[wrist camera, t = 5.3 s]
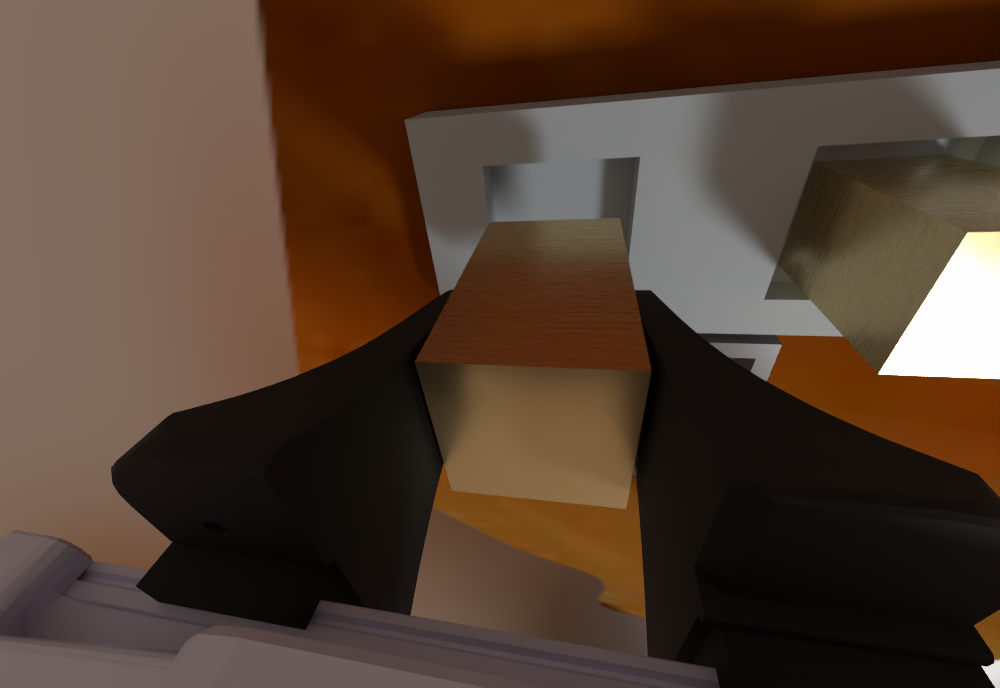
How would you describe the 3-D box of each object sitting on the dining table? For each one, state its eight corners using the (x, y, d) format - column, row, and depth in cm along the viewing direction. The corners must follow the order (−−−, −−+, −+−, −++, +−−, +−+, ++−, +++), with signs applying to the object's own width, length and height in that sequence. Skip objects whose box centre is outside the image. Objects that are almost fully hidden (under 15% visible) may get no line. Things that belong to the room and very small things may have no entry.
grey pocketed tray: (941, 306, 17) (988, 339, 15) (459, 302, 21) (446, 327, 19) (1111, 50, 12) (1217, 49, 10) (426, 111, 16) (404, 119, 14)
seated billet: (890, 264, 15) (1060, 381, 10) (778, 265, 16) (878, 374, 11) (949, 154, 13) (1214, 227, 8) (814, 161, 14) (967, 232, 8)
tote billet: (609, 327, 14) (626, 509, 9) (500, 325, 15) (452, 490, 9) (619, 217, 12) (651, 371, 6) (489, 222, 12) (414, 362, 7)
